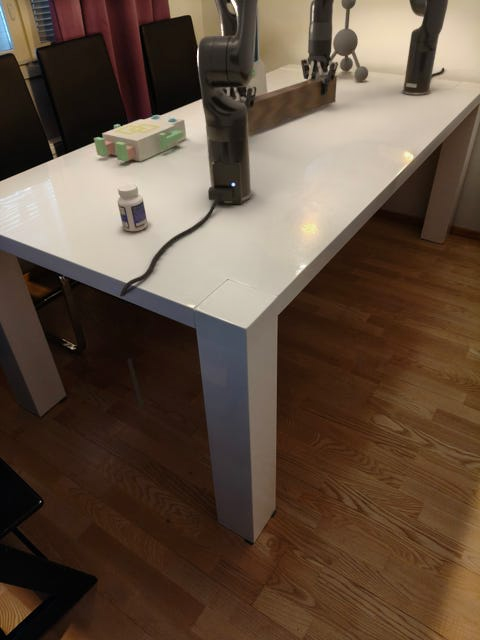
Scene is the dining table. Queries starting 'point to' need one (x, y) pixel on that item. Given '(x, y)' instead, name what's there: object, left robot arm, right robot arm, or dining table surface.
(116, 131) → the decorative block
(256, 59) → the electronic device
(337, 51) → the molecular model
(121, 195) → the pill bottle
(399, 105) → the dining table surface
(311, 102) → the beam
